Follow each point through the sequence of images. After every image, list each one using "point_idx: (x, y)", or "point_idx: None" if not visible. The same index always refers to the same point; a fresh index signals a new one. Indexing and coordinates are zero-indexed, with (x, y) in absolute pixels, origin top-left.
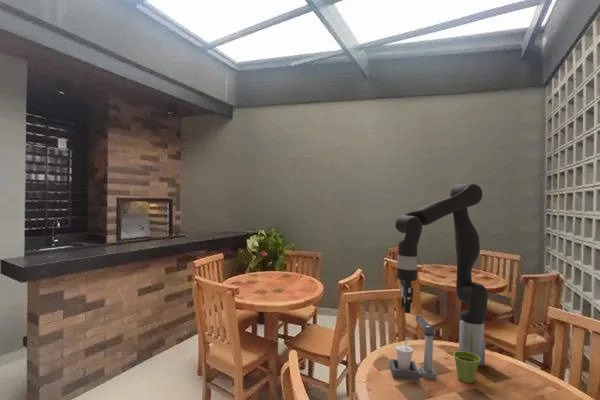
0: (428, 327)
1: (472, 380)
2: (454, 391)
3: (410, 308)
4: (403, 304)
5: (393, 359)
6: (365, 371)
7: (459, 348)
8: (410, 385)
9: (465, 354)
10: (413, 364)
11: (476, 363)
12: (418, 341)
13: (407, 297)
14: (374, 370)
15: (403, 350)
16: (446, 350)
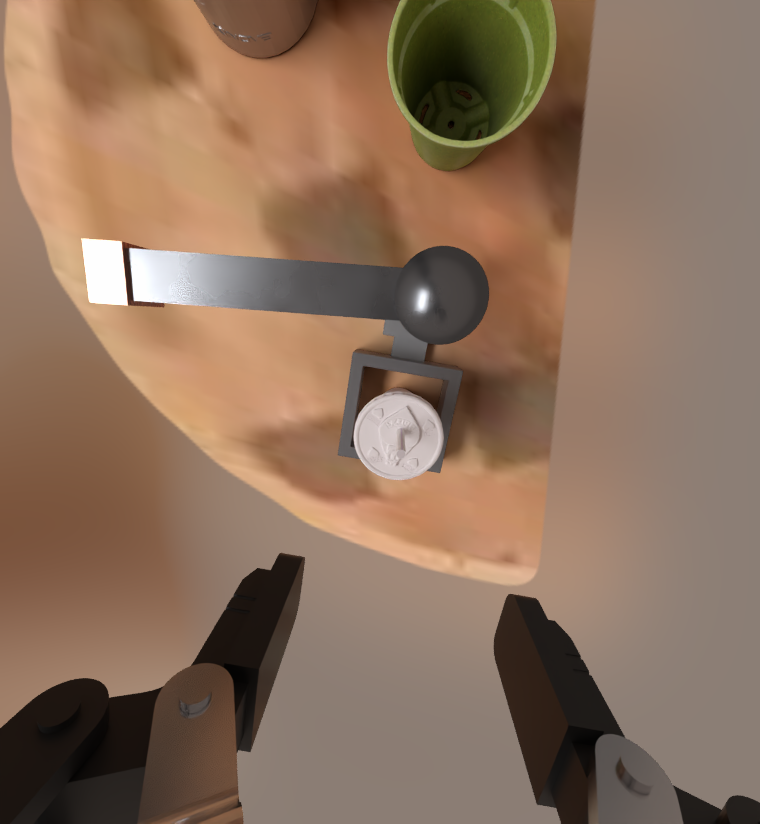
0: (476, 320)
1: (493, 108)
2: (548, 246)
3: (561, 647)
4: (287, 629)
5: (343, 442)
6: (387, 542)
7: (224, 4)
8: (491, 412)
9: (401, 32)
10: (388, 367)
11: (540, 24)
12: (48, 208)
13: (232, 687)
14: (379, 510)
15: (422, 452)
16: (136, 78)
